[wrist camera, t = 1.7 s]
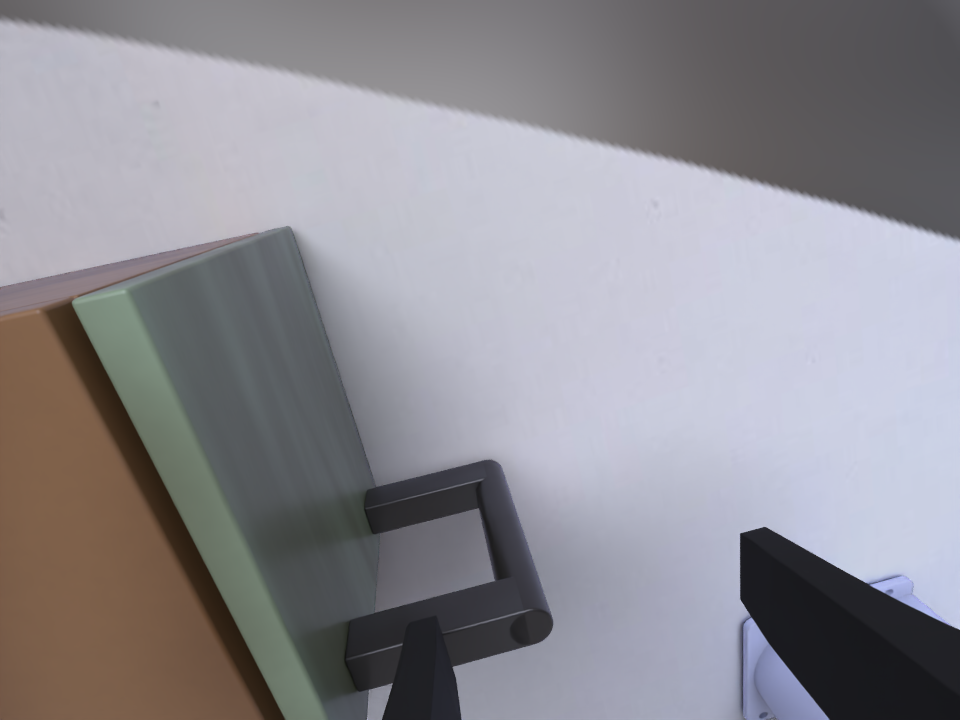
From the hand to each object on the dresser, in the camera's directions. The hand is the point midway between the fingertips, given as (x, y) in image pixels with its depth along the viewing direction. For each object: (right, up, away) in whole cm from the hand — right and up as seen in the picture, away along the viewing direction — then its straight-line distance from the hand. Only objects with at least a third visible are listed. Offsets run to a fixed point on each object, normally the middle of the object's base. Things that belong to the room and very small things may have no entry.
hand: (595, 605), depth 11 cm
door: (-6, +5, +7) cm, 11 cm away
